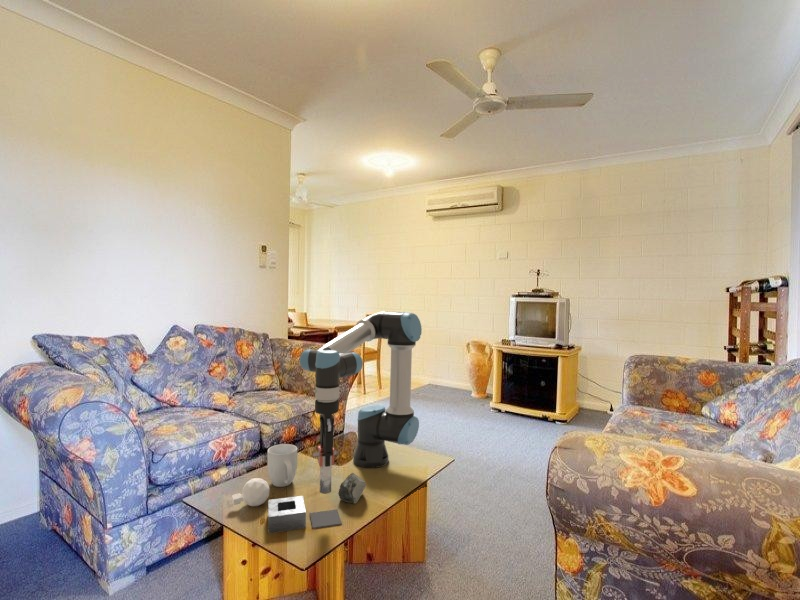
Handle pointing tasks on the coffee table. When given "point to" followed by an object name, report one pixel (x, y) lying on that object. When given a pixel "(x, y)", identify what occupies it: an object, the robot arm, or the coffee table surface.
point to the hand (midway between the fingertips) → (325, 472)
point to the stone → (351, 488)
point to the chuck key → (324, 480)
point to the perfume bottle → (253, 493)
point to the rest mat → (325, 519)
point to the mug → (282, 464)
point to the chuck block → (286, 514)
